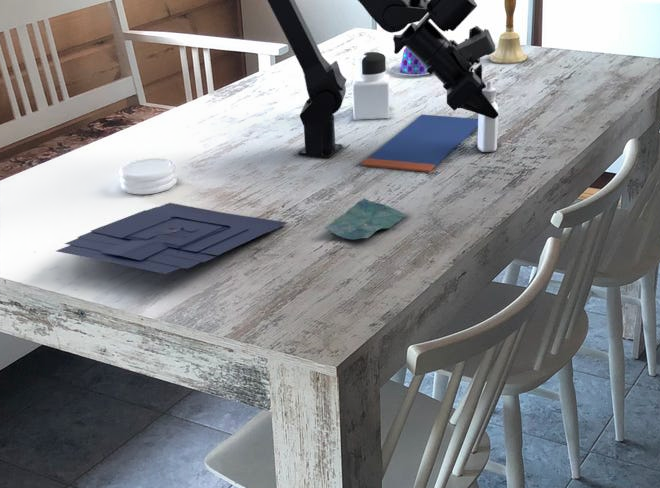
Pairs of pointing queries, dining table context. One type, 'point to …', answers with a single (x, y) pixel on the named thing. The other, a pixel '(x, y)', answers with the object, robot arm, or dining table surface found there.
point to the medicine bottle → (370, 87)
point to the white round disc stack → (148, 176)
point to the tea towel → (423, 143)
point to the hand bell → (509, 40)
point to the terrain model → (365, 220)
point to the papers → (169, 237)
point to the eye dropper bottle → (488, 124)
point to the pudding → (410, 65)
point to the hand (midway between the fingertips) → (496, 111)
